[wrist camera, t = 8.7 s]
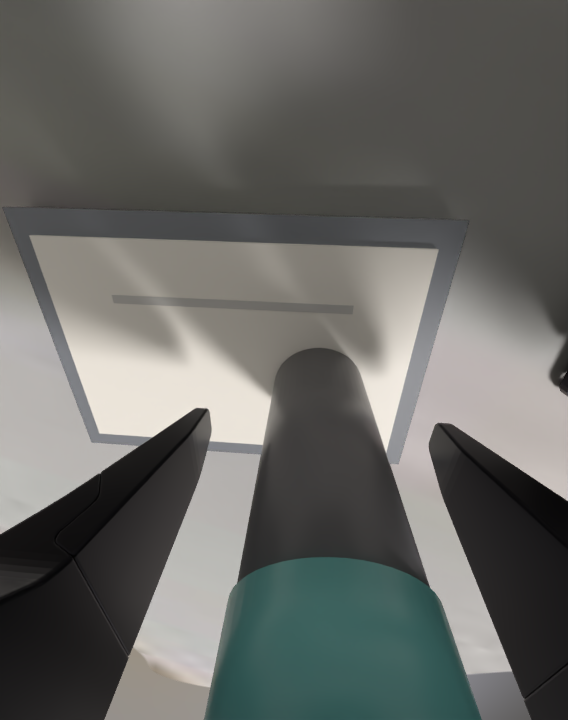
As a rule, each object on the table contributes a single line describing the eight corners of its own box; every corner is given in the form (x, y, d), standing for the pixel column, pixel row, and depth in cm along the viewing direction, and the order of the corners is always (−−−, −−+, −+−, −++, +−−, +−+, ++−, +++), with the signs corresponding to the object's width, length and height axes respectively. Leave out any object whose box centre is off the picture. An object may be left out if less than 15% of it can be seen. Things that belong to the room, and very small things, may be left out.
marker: (371, 348, 10) (609, 856, 2) (357, 425, 12) (463, 877, 4) (272, 342, 11) (155, 795, 2) (271, 420, 12) (201, 841, 4)
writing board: (454, 219, 9) (473, 220, 8) (392, 448, 14) (399, 468, 13) (29, 207, 10) (-5, 206, 9) (104, 428, 15) (88, 445, 14)
